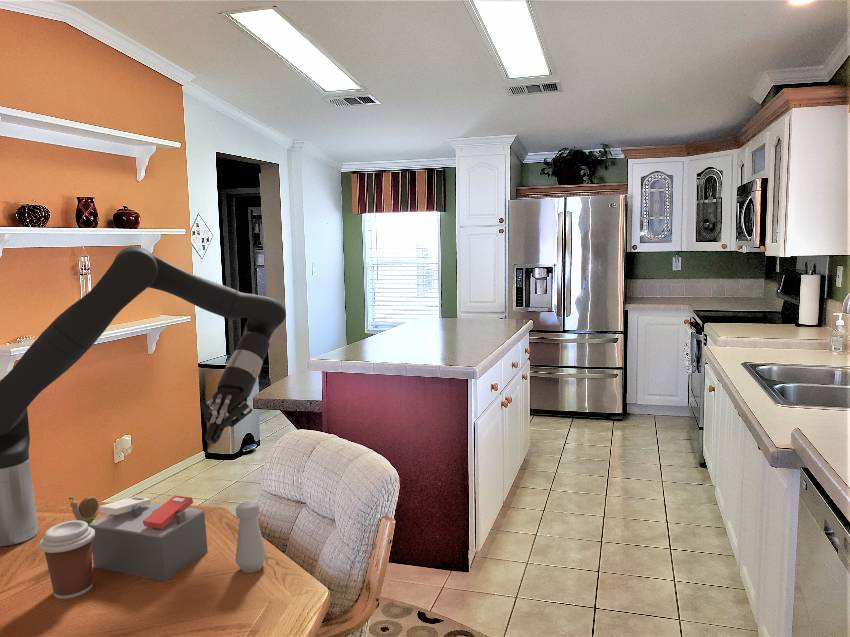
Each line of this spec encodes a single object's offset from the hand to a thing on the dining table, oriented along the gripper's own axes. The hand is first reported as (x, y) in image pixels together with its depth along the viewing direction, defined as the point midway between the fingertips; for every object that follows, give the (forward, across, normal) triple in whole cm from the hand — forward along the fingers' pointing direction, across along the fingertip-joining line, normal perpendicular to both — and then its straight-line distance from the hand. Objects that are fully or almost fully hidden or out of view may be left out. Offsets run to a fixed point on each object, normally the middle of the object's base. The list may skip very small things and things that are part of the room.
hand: (210, 441), depth 141 cm
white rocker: (+17, -11, -3) cm, 20 cm away
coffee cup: (+34, -11, -4) cm, 36 cm away
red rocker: (+17, 0, -3) cm, 17 cm away
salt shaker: (+22, +17, +7) cm, 29 cm away
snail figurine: (+24, -23, +6) cm, 34 cm away
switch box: (+24, -5, +5) cm, 25 cm away
